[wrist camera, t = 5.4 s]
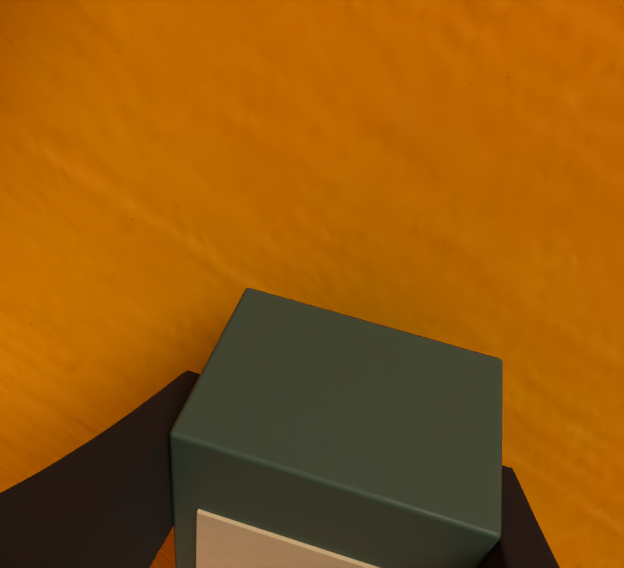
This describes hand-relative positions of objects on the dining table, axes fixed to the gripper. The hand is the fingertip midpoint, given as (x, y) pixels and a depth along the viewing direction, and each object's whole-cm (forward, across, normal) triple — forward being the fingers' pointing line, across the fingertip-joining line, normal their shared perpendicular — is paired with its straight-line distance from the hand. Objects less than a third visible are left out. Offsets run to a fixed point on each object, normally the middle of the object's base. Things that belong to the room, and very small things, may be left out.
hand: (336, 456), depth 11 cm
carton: (+2, 0, +2) cm, 3 cm away
